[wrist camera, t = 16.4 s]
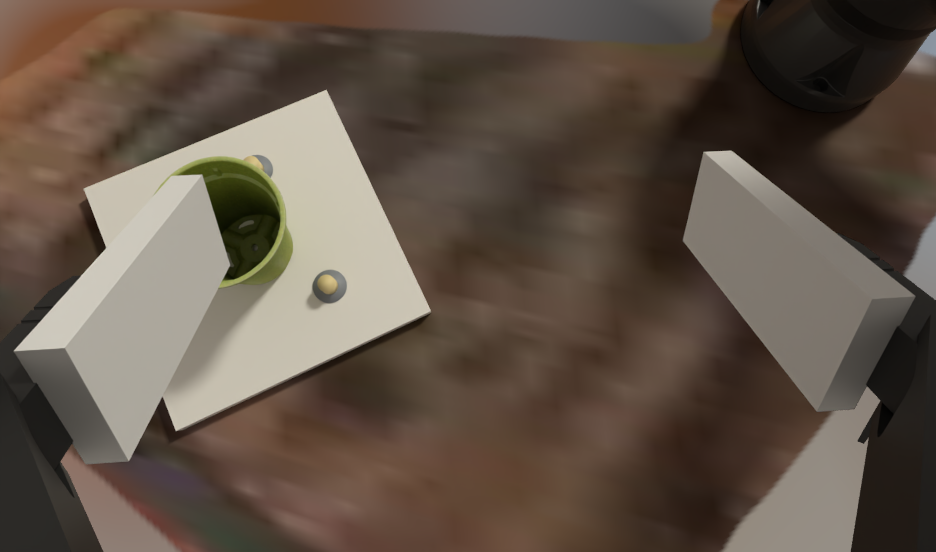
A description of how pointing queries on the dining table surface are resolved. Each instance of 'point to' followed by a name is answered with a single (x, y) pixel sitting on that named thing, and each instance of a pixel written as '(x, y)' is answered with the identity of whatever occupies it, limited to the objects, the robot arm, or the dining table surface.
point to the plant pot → (245, 218)
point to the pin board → (308, 272)
